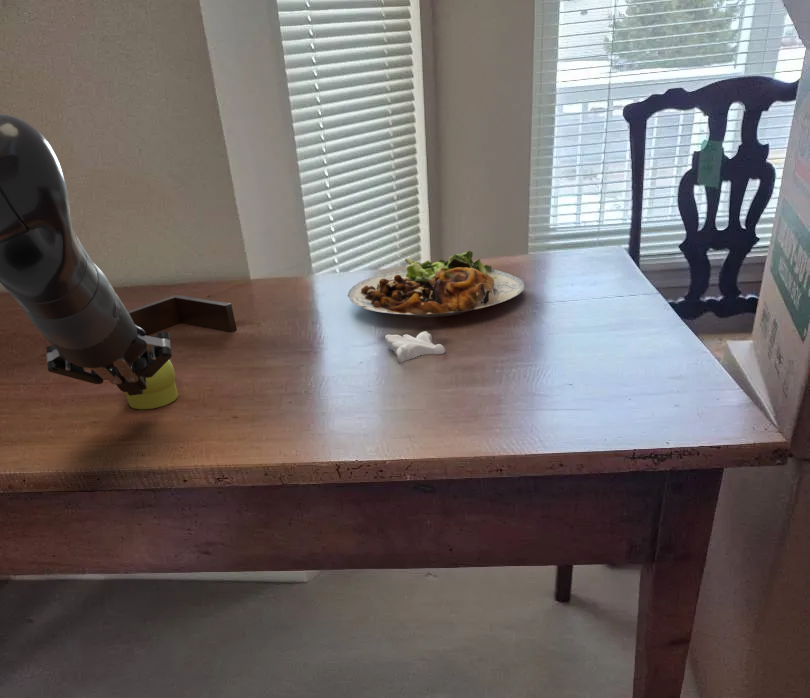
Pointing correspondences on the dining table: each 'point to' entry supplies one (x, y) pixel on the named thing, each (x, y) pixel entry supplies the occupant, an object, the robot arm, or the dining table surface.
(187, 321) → the corner fence
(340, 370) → the dining table surface
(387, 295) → the plate of food
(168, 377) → the pear
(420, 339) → the acanthus leaf ornament
